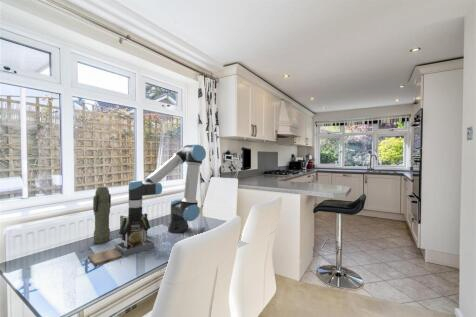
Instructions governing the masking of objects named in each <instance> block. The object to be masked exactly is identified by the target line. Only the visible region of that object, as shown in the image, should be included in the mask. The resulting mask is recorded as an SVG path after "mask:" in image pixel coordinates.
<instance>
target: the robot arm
mask: <svg viewBox="0 0 476 317" xmlns="http://www.w3.org/2000/svg"><path fill="white" fill-rule="evenodd" d="M206 156H207V151H206V149H205V148H204V146H202V145H201V144H187V145H184V146H181V148H179V150H177V151H175V153H173V156H172V157H170V159H168V160H167V161H166V162H164V163H163V164H162V165H160V167H158V168H157V169H156V170H155V171H154V172H152V173H150V175H149V176H147V177H145V178H144V179H143V180H130V181H129V183H128V212H127V214H128V213H129V215H128V217H123V222H122V225H121V228H120V227H119V231H118V234H119V236H120V235H122V236H121V238H122V241H123V242H124V246H127V235H126V233H127V226H126V227H125V225H126V221H127V219H129V221H128V223H133V222H139V221H142V220H141V218H142V216H143V217H144V220H145V224H146V226H145V224H144V234H143V241H146V238H147V237H146V236H147V235H148V230H149V229H151V225H150V222H149V219H148V213H146V212H144V213H143V197H144V196H145V197H146V196H157V195H160V194H161V193H162V191H163V185H162V183H160V182H161V181H162V180H163V179H164V178H166V177H167V175H169V174H170V173H171V172H172V171H174V170H175V169H176V168H177V167H178V166H179V165H183V164H184V163H186V165H187V168H186V176H185V184H184V193H183V198H179V199H173V200H171V201H170V220H169V221H170V222H169V223H168V224H169V225H168V227H167V231H168V232H169V233H172V234H181V233H184V232H187V231H189V228H190V226H189V223H188V222H192V221H195V220H196V219H198V217H199V215H200V211H201V209H200V207H199V206H198V202H199V201H198V200H197V193H198V184H199V174H200V167H201V165H203V161H204V160H205V158H206ZM124 228H125V229H124Z"/></svg>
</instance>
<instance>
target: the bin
mask: <svg viewBox="0 0 476 317" xmlns="http://www.w3.org/2000/svg"><path fill="white" fill-rule="evenodd" d="M143 243H145V244H143V245H141V246H138V247H134V248H131V249H127V246H124V241H123V242H118V243H115V244H114V249H116V251H118V252H119V253H120V254H121V255H122V257H127V256H129V255H133V254H136V253H139V252H143V251H146V250H150V249H153V248H155V241H153V240H152V239H151V240H150V239H149V238H147V237H146V241H143ZM125 248H126V249H125Z"/></svg>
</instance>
